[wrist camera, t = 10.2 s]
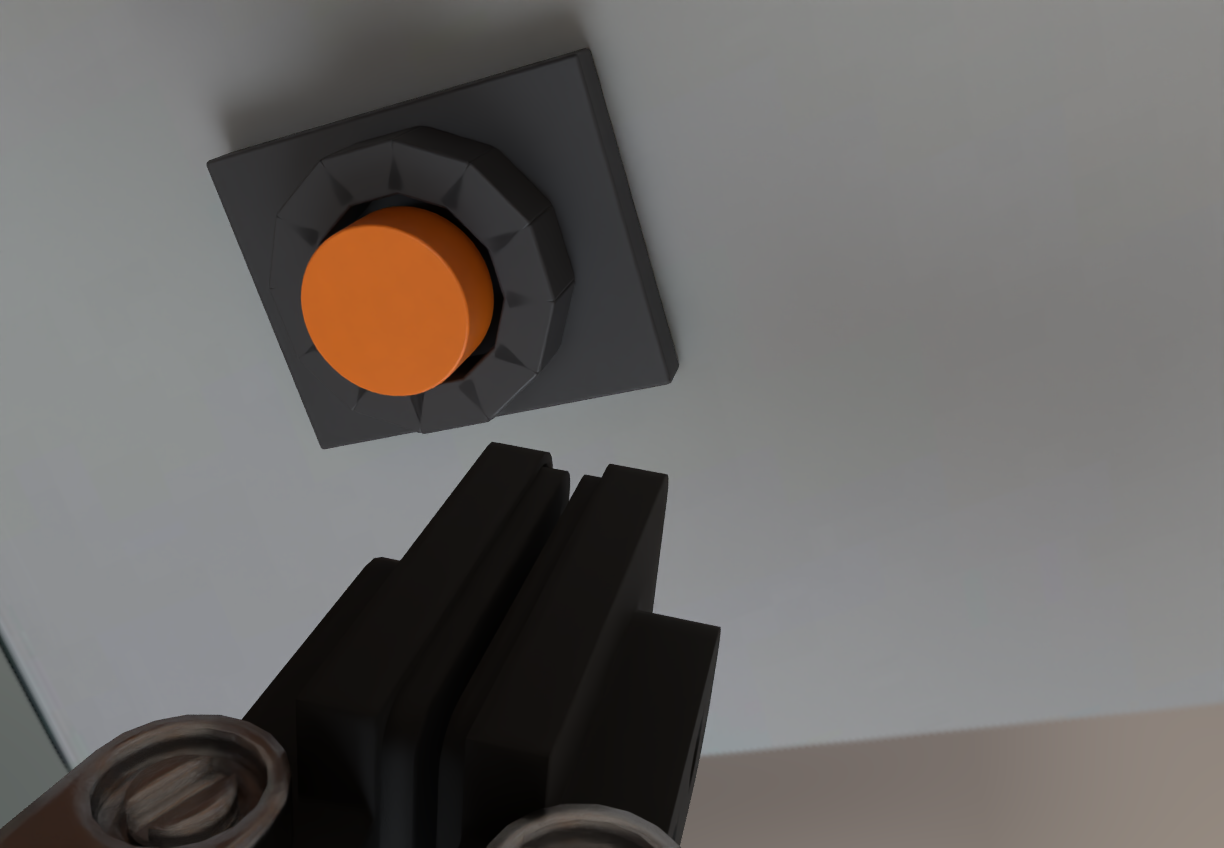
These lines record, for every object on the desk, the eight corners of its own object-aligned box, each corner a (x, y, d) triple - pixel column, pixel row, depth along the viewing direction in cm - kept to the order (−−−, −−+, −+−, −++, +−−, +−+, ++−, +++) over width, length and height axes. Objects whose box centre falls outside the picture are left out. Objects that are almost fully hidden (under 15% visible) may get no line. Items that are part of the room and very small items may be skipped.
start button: (462, 187, 26) (433, 205, 24) (516, 352, 27) (492, 379, 26) (309, 226, 27) (273, 247, 26) (369, 382, 28) (338, 411, 27)
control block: (590, 46, 27) (554, 63, 24) (680, 367, 29) (657, 413, 27) (229, 152, 30) (161, 178, 27) (340, 432, 32) (288, 480, 30)
